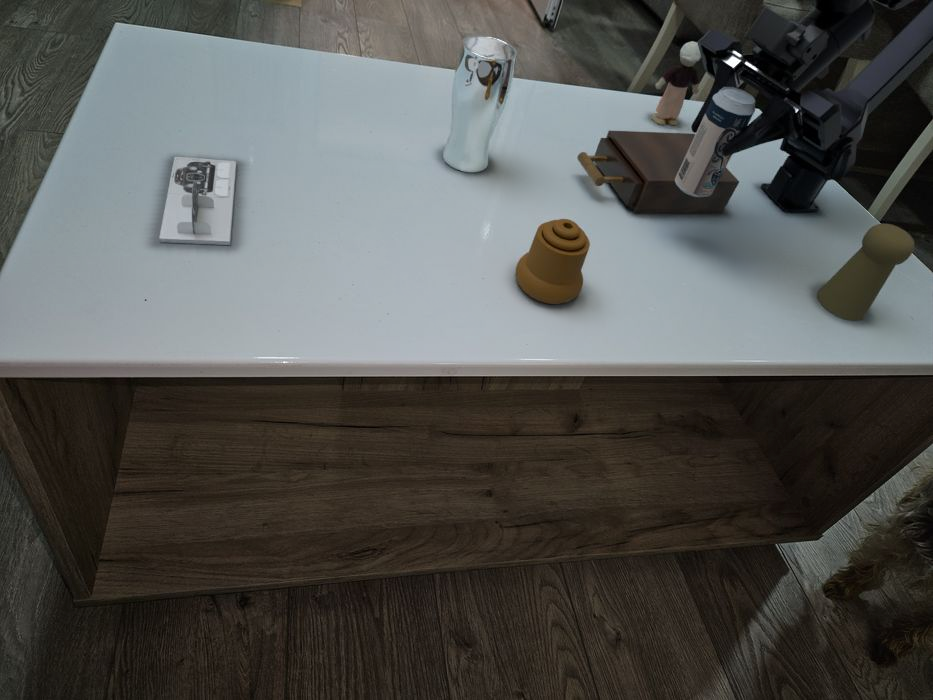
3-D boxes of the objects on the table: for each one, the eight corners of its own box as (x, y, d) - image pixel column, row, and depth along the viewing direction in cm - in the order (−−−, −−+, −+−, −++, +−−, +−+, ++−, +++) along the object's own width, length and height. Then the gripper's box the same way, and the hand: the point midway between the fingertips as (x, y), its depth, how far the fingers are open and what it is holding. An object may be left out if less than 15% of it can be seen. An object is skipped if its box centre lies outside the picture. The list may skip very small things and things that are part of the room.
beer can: (702, 205, 81) (751, 110, 73) (667, 186, 83) (710, 92, 74) (716, 190, 84) (764, 98, 76) (682, 173, 86) (725, 80, 77)
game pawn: (861, 328, 82) (922, 256, 74) (812, 304, 83) (867, 230, 76) (868, 303, 86) (926, 232, 78) (821, 281, 87) (874, 209, 80)
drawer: (598, 206, 88) (607, 183, 86) (566, 158, 95) (573, 136, 92) (710, 205, 94) (721, 184, 91) (672, 161, 101) (682, 140, 98)
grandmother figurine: (672, 113, 114) (706, 37, 106) (686, 125, 112) (721, 48, 103) (636, 115, 111) (668, 36, 102) (650, 127, 109) (683, 48, 100)
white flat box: (230, 245, 70) (228, 208, 67) (159, 242, 68) (153, 204, 65) (236, 164, 80) (234, 129, 77) (174, 160, 78) (170, 123, 75)
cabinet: (634, 213, 90) (648, 180, 86) (596, 162, 98) (608, 130, 94) (722, 212, 95) (739, 181, 91) (680, 163, 102) (694, 133, 99)
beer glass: (430, 161, 89) (451, 45, 78) (451, 140, 94) (474, 28, 83) (479, 181, 88) (507, 66, 77) (498, 158, 93) (526, 48, 82)
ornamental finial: (501, 285, 74) (531, 254, 79) (562, 318, 72) (589, 284, 77) (519, 225, 68) (551, 195, 74) (586, 258, 67) (613, 226, 72)
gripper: (747, -50, 74) (636, 58, 76) (893, 25, 64) (761, 146, 67) (758, 22, 83) (659, 116, 86) (887, 97, 73) (771, 200, 76)
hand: (707, 141), depth 78 cm, fingers closed on beer can, 5 cm apart
